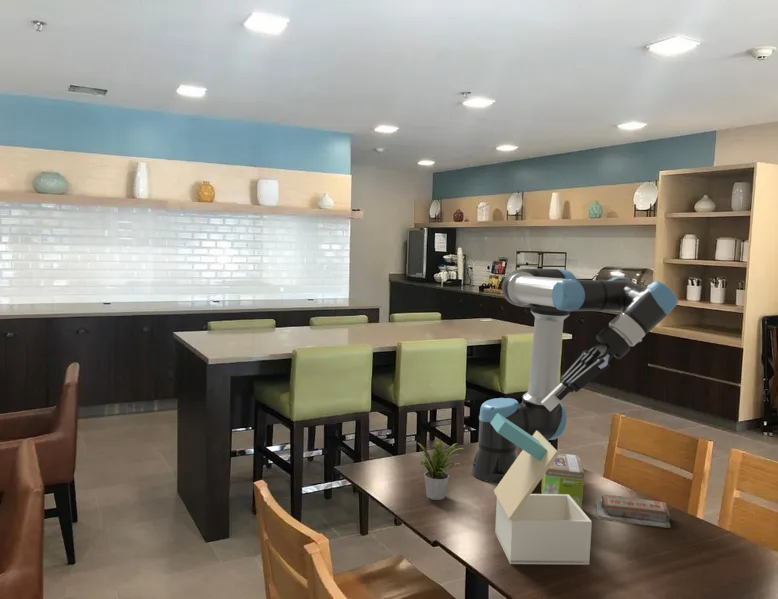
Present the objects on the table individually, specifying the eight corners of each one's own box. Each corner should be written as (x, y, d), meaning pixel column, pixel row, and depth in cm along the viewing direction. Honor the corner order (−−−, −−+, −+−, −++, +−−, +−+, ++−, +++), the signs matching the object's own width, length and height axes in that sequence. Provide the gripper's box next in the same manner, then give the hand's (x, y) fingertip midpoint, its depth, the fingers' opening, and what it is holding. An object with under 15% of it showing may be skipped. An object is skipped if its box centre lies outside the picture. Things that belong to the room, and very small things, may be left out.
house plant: (473, 504, 180) (475, 446, 179) (426, 510, 175) (429, 450, 174) (450, 486, 193) (453, 432, 192) (407, 491, 189) (409, 435, 187)
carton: (566, 533, 164) (568, 494, 163) (589, 564, 148) (591, 521, 147) (495, 532, 163) (497, 493, 162) (510, 563, 147) (512, 520, 146)
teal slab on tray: (539, 432, 162) (496, 403, 160) (559, 453, 145) (512, 421, 144) (496, 492, 162) (454, 464, 161) (511, 520, 146) (465, 489, 145)
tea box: (581, 528, 167) (585, 472, 166) (541, 524, 169) (544, 468, 168) (577, 506, 182) (580, 453, 181) (539, 502, 184) (542, 450, 183)
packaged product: (666, 497, 178) (671, 512, 169) (664, 515, 179) (670, 530, 169) (596, 489, 183) (598, 502, 173) (595, 506, 183) (597, 520, 174)
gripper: (641, 352, 146) (564, 425, 147) (619, 344, 159) (548, 411, 160) (619, 328, 146) (541, 401, 146) (598, 322, 159) (528, 389, 159)
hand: (545, 406), depth 153 cm, fingers closed
